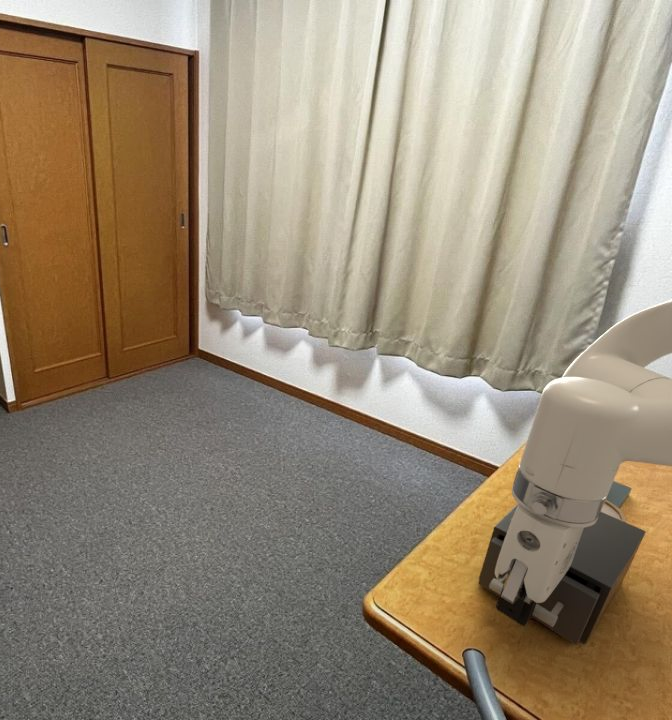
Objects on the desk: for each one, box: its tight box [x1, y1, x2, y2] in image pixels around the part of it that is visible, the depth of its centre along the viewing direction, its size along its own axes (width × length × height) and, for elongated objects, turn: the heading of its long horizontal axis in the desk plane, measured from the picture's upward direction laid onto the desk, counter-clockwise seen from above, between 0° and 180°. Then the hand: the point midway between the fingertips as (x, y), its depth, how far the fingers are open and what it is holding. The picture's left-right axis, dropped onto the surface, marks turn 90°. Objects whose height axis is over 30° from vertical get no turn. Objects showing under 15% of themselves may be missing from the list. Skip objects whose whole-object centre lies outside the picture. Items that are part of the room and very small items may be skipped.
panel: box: [606, 480, 633, 509], centre depth 84 cm, size 12×9×4 cm
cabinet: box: [478, 503, 647, 645], centre depth 65 cm, size 15×13×10 cm
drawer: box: [477, 537, 601, 646], centre depth 63 cm, size 17×11×8 cm, turn 127°
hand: (512, 614), depth 57 cm, fingers closed
